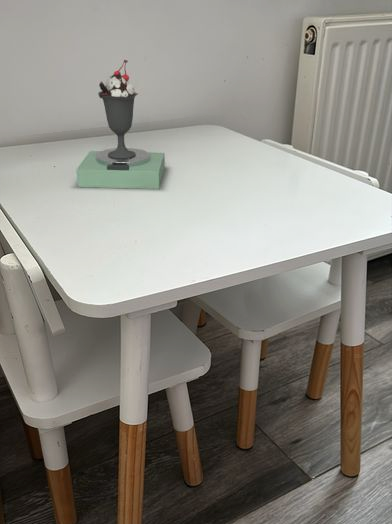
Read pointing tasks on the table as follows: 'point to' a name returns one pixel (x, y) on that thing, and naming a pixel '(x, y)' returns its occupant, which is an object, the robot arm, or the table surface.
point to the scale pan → (137, 160)
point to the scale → (121, 173)
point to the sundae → (119, 109)
